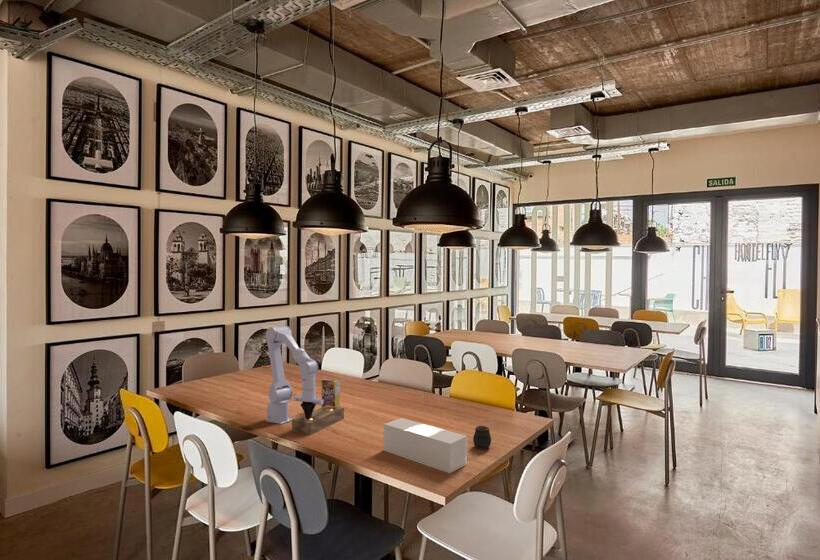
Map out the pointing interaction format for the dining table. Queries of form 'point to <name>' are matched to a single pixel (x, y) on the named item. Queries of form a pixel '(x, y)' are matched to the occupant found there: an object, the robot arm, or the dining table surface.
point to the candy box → (331, 392)
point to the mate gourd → (482, 437)
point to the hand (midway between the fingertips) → (308, 418)
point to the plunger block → (318, 420)
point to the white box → (426, 444)
